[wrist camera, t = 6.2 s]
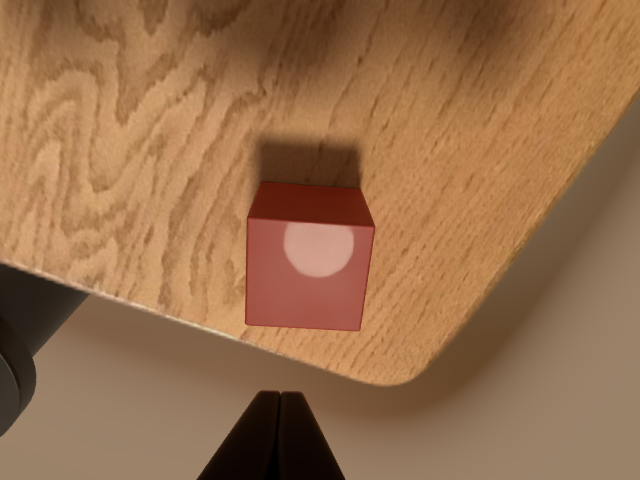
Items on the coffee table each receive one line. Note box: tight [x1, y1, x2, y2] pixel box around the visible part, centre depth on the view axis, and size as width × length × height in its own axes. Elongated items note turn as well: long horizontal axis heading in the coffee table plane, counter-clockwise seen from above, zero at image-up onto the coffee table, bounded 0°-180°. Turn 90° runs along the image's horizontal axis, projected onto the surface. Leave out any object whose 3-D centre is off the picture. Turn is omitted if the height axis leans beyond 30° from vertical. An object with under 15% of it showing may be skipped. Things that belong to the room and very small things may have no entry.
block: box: [245, 182, 375, 331], centre depth 18 cm, size 4×4×4 cm
